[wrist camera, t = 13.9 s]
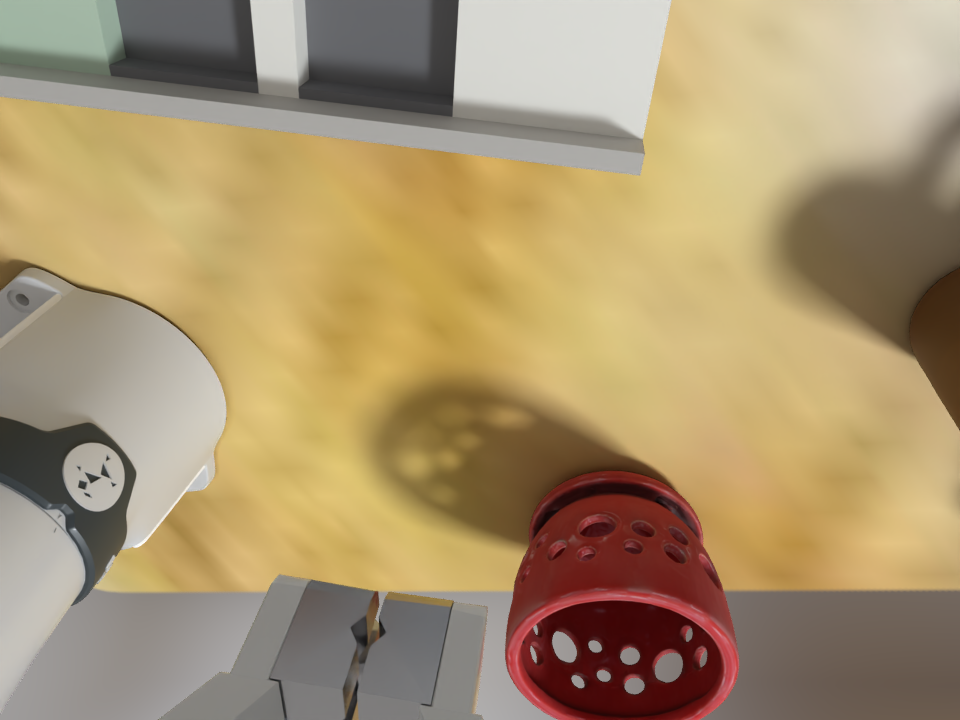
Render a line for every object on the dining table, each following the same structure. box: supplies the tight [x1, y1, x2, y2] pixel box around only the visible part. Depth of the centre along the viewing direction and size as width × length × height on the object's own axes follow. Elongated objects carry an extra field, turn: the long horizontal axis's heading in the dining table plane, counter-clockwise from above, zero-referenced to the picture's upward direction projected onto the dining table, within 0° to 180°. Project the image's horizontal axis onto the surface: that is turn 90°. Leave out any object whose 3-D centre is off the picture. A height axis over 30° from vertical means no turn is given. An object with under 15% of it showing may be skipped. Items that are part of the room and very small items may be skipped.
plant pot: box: [505, 471, 739, 720], centre depth 46 cm, size 13×13×12 cm
